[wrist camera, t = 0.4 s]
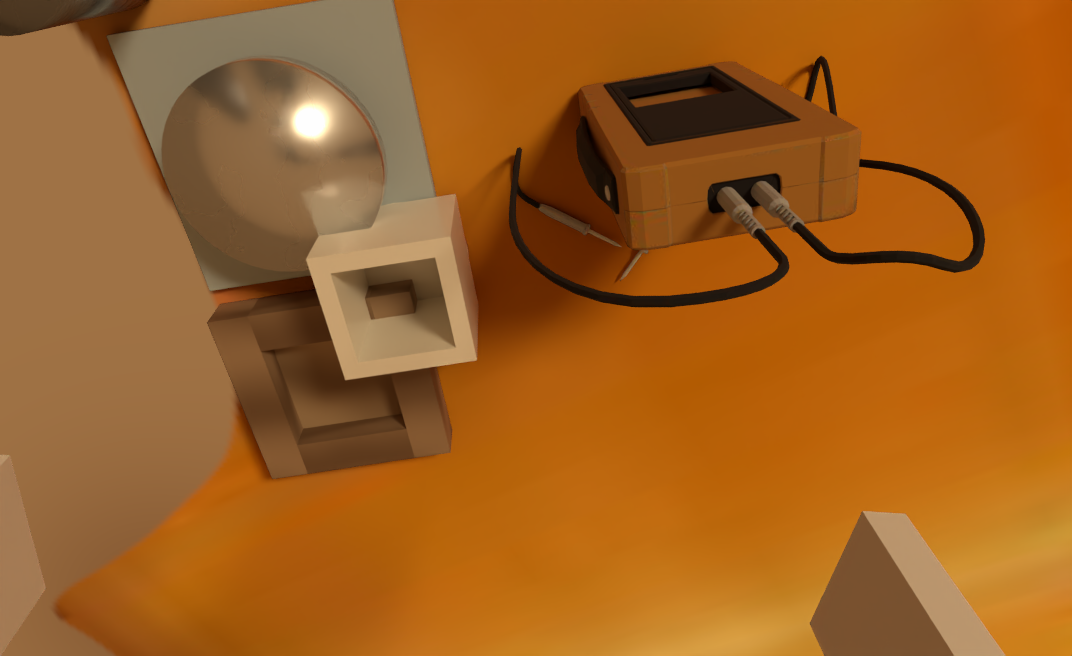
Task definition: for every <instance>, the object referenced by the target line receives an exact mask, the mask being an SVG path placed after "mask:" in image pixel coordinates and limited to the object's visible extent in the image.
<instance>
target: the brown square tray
mask: <svg viewBox="0 0 1072 656" xmlns="http://www.w3.org/2000/svg"><path fill="white" fill-rule="evenodd" d="M365 301H366V304H367V308H368V311H369V315H370V318H371V320H374V319H380V318H387V317H394V316H400V315H407V314H413V313H415V311H416V305H417V296H416V292H415V288H414V284H413V281H412V279H411V280H404V281H398V282H391V283H385V284H378V285H372V286H369V287H368V290H367V293H366V296H365ZM207 324H208V326H209V329H210V331H211V334H212V336H213V338H214V341H215V343H216V345H217V348H218V350H219V353H220V355H221V357H222V360H223V362H224V365H225V367H226V369H227V372H228V374H229V377H230V379H231V381H232V384H233V386H234V388H235V391H236V393H237V396H238V398H239V400H240V403H241V405H242V408H243V410H244V412H245V415H246V417H247V420H248V422H249V424H250V427H251V429H252V431H253V434H254V436H255V439H256V441H257V443H258V446H259V448H260V451H261V453H262V455H263V458H264V460H265V463H266V465H267V467H268V470H269V472H270V474H271V477H272V479H276V478H283V477H290V476H296V475H303V474H310V473H316V472H323V471H330V470H336V469H343V468H350V467H356V466H363V465H370V464H377V463H383V462H390V461H397V460H403V459H410V458H417V457H423V456H430V455H437V454H443V453H450V452H451V439H452V428H451V424H450V420H449V416H448V412H447V408H446V404H445V400H444V396H443V392H442V388H441V384H440V380H439V376H438V372H437V368H436V367H429V368H423V369H416V370H410V371H403V372H396V373H390V374H383V375H377V376H370V377H363V378H357V379H350V380H345V378H344V375H343V372H342V368H341V365H340V362H339V359H338V356H337V353H336V350H335V347H334V344H333V341H332V338H331V335H330V332H329V329H328V325H327V322H326V319H325V316H324V313H323V310H322V307H321V304H320V301H319V298H318V295H317V292H316V289H314V290H308V291H302V292H295V293H289V294H282V295H276V296H269V297H263V298H256V299H250V300H243V301H237V302H230V303H224V304H220V305H219V307H218V308H217V309H216V311H215V312H214V314H213V315H212V317H211V318H210V319H209V321H208V322H207Z"/></svg>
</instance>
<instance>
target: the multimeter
mask: <svg viewBox="0 0 1072 656" xmlns="http://www.w3.org/2000/svg"><path fill="white" fill-rule="evenodd" d="M820 65H822V69H823V72H824V77H825V82H826V88H827V94H828V102H829V109H830V112H828V111H826V110H824V109H822V108H821V107H819V106H817V105H815V104H813V103H811V100H812V96H813V93H814V88H815V84H816V80H817V76H818V72H819V68H820ZM578 98H579V107H580V116H581V118H580V124H579V126H578V128H577V130H576V137H577V152H578V159H579V162H580V164H581V167H582V169H583V171H584V174H585V176H586V178H587V180H588V183H589V185H590V186H591V187H592V189H593V190H594V192H595V193H596V194H597V196H598V197H599V198H600V199H602V200H603V201H604V202H605V203H606V204H607V205H608V206H609V207H610V208H611V209H612V211H613V214H614V216H615V218H616V220H617V223H618V225H619V227H620V230H621V232H622V234H623V237H624V239H625V241H626V243H627V246H628V247H630V248H631V249H633V250H640V251H639V252H638V253H637V255H636V256H635V258H634V259H633V260H632V262H631V263H630V265H629V266H628V267H627V269H626V270H625V271H624V273H623V274H622V277H621V279H620V281H621V280H622V279H623V278H624V277H625V276H626V275H627V274H628V272H629V271H630V270H631V268H632V267H633V266H634V264H635V263H636V261H637V260H638V259H639V257H640V256H641V255H642V253H643V252H644V253H646V254H647V253H648V250H651V249H659V248H666V247H669V246H673V245H679V244H685V243H691V242H697V241H703V240H709V239H715V238H721V237H727V236H733V235H739V234H745V233H750V235H751V236H752V237H753V238H755V239H758V240H759V241H760V242H761V244H762V245H763V246H764V247H765V248H766V249H767V251H768V252H769V253H770V254H771V255H772V256H773V258H774V259H775V260H776V261H777V262H778V263H779V265H778V268H777V269H776V270H775V272H773V273H772V274H770V275H768V276H766V277H763V278H761V279H759V280H756V281H753V282H749V283H746V284H743V285H738V286H734V287H730V288H725V289H719V290H713V291H707V292H700V293H692V294H682V295H672V296H629V295H622V294H615V293H608V292H602V291H599V290H595V289H592V288H589V287H585V286H582V285H579V284H576V283H574V282H572V281H569V280H567V279H565V278H563V277H561V276H559V275H557V274H555V273H554V272H553V271H551V270H550V269H548V268H547V267H546V266H544V265H543V264H542V263H541V262H540V261H539V260H538V259H537V258H536V257H535V256H534V255H533V254H532V253H531V252H530V250H529V249H528V247H527V246H526V244H525V243H524V241H523V239H522V237H521V235H520V233H519V230H518V226H517V222H516V196H517V194H518V195H519V196H520V197H521V198H522V199H523V200H524V201H526V202H527V203H529V204H531V205H532V206H534V207H536V208H538V209H539V210H540V211H541V212H543V213H544V214H546V215H547V216H549V217H551V218H553V219H555V220H557V221H559V222H561V223H563V224H565V225H567V226H569V227H571V228H573V229H576V230H578V231H580V232H582V234H583V235H586V234H587V233H590V234H592V235H594V236H596V237H598V238H600V239H602V240H604V241H606V242H608V243H610V244H612V245H614V246H619V247H621V246H620V245H619V244H618V243H616V242H615V241H613V240H611V239H609V238H607V237H605V236H603V235H601V234H599V233H597V232H595V231H593V230H591V229H590V224H585V223H583V222H581V221H579V220H577V219H575V218H573V217H571V216H569V215H567V214H565V213H563V212H561V211H559V210H557V209H555V208H553V207H550V206H547V205H544V204H539V203H538V202H536V201H534V200H532V199H531V198H529V197H528V196H526V195H525V194H524V193H523V192H522V191H521V189H520V187H519V185H518V177H519V168H520V160H521V153H522V149H521V148H520V147H519V148H517V151H516V155H515V160H514V166H513V178H512V186H511V195H510V207H509V225H510V229H511V234H512V236H513V239H514V241H515V244H516V246H517V247H518V249H519V250H520V252H521V253H522V255H523V257H524V258H525V259H526V260H527V261H528V262H529V263H530V264H531V265H532V266H533V267H534V268H535V269H536V270H537V271H538V272H540V273H541V274H542V275H544V276H545V277H546V278H548V279H549V280H550V281H552V282H553V283H555V284H557V285H559V286H561V287H563V288H565V289H567V290H569V291H571V292H573V293H575V294H577V295H581V296H584V297H587V298H590V299H593V300H596V301H599V302H603V303H610V304H616V305H623V306H629V307H676V306H686V305H696V304H704V303H710V302H716V301H722V300H728V299H732V298H736V297H741V296H745V295H748V294H751V293H754V292H757V291H761V290H763V289H765V288H767V287H769V286H772V285H773V284H775V283H776V282H778V281H779V280H780V279H782V278H783V277H784V276H785V275H786V273H787V272H788V270H789V262H788V259H787V256H786V255H785V254H784V253H783V252H782V251H781V250H780V249H779V247H778V246H777V245H776V244H775V243H774V242H773V241H772V240H771V239H770V237H769V236H768V235H767V234H766V233H765V230H770V229H776V228H782V227H788V228H789V229H790V230H791V231H793V232H796V233H798V234H799V235H800V236H801V237H802V238H803V239H804V240H805V241H806V242H807V243H808V244H809V245H810V246H811V247H812V248H813V249H814V250H815V251H816V252H817V253H818V254H819V255H820V256H822V257H823V258H825V259H827V260H829V261H831V262H835V263H839V264H868V263H894V262H898V263H913V264H920V265H926V266H930V267H934V268H937V269H941V270H945V271H950V272H954V273H956V272H961V271H966V270H970V269H972V268H973V267H974V266H976V265H977V264H978V263H979V261H980V259H981V257H982V255H983V251H984V243H985V236H984V228H983V225H982V223H981V220H980V217H979V215H978V213H977V212H976V210H975V208H974V207H973V205H972V204H971V203H970V202H969V200H968V199H967V198H966V197H965V196H964V195H963V194H962V193H961V192H960V191H958V190H957V189H956V188H955V187H953V186H952V185H950V184H949V183H947V182H945V181H943V180H942V179H940V178H938V177H936V176H934V175H931V174H929V173H926V172H924V171H921V170H919V169H916V168H912V167H908V166H905V165H901V164H895V163H889V162H884V161H873V160H863V159H860V145H861V131H860V130H859V129H858V128H857V127H855V126H854V125H852V124H850V123H848V122H846V121H844V120H843V119H841V118H839V117H837V112H836V105H835V98H834V92H833V85H832V80H831V75H830V70H829V66H828V63H827V60H826V59H825V58H824V57H823V56H820V57H819V58H818V59H817V60H816V61H815V65H814V68H813V72H812V76H811V80H810V85H809V89H808V93H807V97H806V99H804V98H802V97H800V96H799V95H797V94H795V93H793V92H791V91H789V90H788V89H786V88H784V87H782V86H780V85H778V84H776V83H774V82H772V81H770V80H769V79H766V78H765V77H763V76H761V75H759V74H757V73H755V72H753V71H751V70H749V69H747V68H745V67H743V66H741V65H740V64H738V63H737V62H721V63H714V64H709V65H707V66H701V67H695V68H689V69H683V70H677V71H671V72H666V73H660V74H654V75H648V76H642V77H636V78H631V79H625V80H619V81H613V82H607V83H598V84H592V85H587V86H584V87H582V88H580V90H579V91H578ZM859 167H866V168H874V169H883V170H889V171H894V172H899V173H903V174H907V175H910V176H913V177H916V178H919V179H921V180H923V181H926V182H928V183H930V184H932V185H933V186H935V187H937V188H938V189H940V190H942V191H943V192H945V193H946V194H947V195H948V196H949V197H951V198H952V199H953V200H954V201H955V202H956V203H957V205H958V206H959V207H960V208H961V209H962V211H963V212H964V214H965V216H966V218H967V220H968V221H969V224H970V227H971V230H972V234H973V249H972V251H971V253H970V255H969V257H967V258H966V259H965V260H963V261H954V260H949V259H945V258H942V257H939V256H935V255H932V254H926V253H920V252H911V251H878V252H864V253H836V252H833V251H831V250H829V249H828V248H827V247H826V246H825V245H824V244H823V243H822V242H821V241H820V240H819V239H817V238H816V237H815V236H814V235H813V234H812V233H811V232H810V231H809V230H808V229H807V228H806V227H805V226H804V224H806V223H812V222H824V221H829V220H834V219H839V218H843V217H846V216H848V215H851V214H852V213H854V212H855V211H856V205H857V190H858V175H859Z"/></svg>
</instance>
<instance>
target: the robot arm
mask: <svg viewBox="0 0 1072 656" xmlns="http://www.w3.org/2000/svg"><path fill="white" fill-rule="evenodd" d="M45 589H46V587H45V583H44V580H43V576H42V572H41V568H40V565H39V561H38V557H37V554H36V550H35V546H34V543H33V539H32V535H31V531H30V528H29V524H28V521H27V517H26V513H25V509H24V506H23V502H22V498H21V495H20V491H19V487H18V483H17V480H16V476H15V472H14V469H13V465H12V461H11V458H10V455H0V656H1V655H2V654H3V652H4V651H5V649H6V648H7V646H8V644H9V643H10V642H11V640H12V639H13V637H14V635H15V634H16V633H17V631H18V630H19V628H20V627H21V625H22V624H23V622H24V620H25V619H26V617H27V616H28V614H29V613H30V612H31V610H32V608H33V607H34V605H35V604H36V603H37V601H38V600H39V598H40V597H41V595H42V594H43V592H44V590H45ZM810 625H811V627H812V630H813V632H814V634H815V636H816V638H817V640H818V643H819V645H820V647H821V649H822V651H823V654H824V656H1005V654H1004V653H1003V651H1002V650H1001V649H1000V647H999V646H998V644H997V643H996V642H995V640H994V639H993V637H992V636H991V634H990V633H989V632H988V630H987V629H986V627H985V626H984V625H983V623H982V622H981V620H980V619H979V617H978V616H977V615H976V613H975V612H974V610H973V609H972V607H971V606H970V605H969V603H968V602H967V600H966V599H965V598H964V596H963V595H962V593H961V592H960V590H959V589H958V588H957V586H956V585H955V583H954V582H953V581H952V579H951V578H950V576H949V575H948V573H947V572H946V571H945V569H944V568H943V566H942V565H941V564H940V562H939V561H938V559H937V558H936V556H935V555H934V554H933V552H932V551H931V549H930V548H929V546H928V545H927V544H926V542H925V541H924V539H923V538H922V537H921V535H920V534H919V532H918V531H917V529H916V528H915V527H914V525H913V524H912V522H911V521H910V520H909V518H908V517H907V515H906V514H899V513H884V512H869V511H862V513H861V515H860V517H859V519H858V522H857V524H856V526H855V528H854V530H853V532H852V534H851V536H850V539H849V541H848V543H847V545H846V547H845V549H844V551H843V554H842V556H841V558H840V560H839V562H838V564H837V566H836V568H835V571H834V573H833V575H832V577H831V579H830V581H829V583H828V585H827V588H826V590H825V592H824V594H823V596H822V598H821V600H820V602H819V605H818V607H817V609H816V611H815V613H814V615H813V617H812V620H811V622H810Z"/></svg>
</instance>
